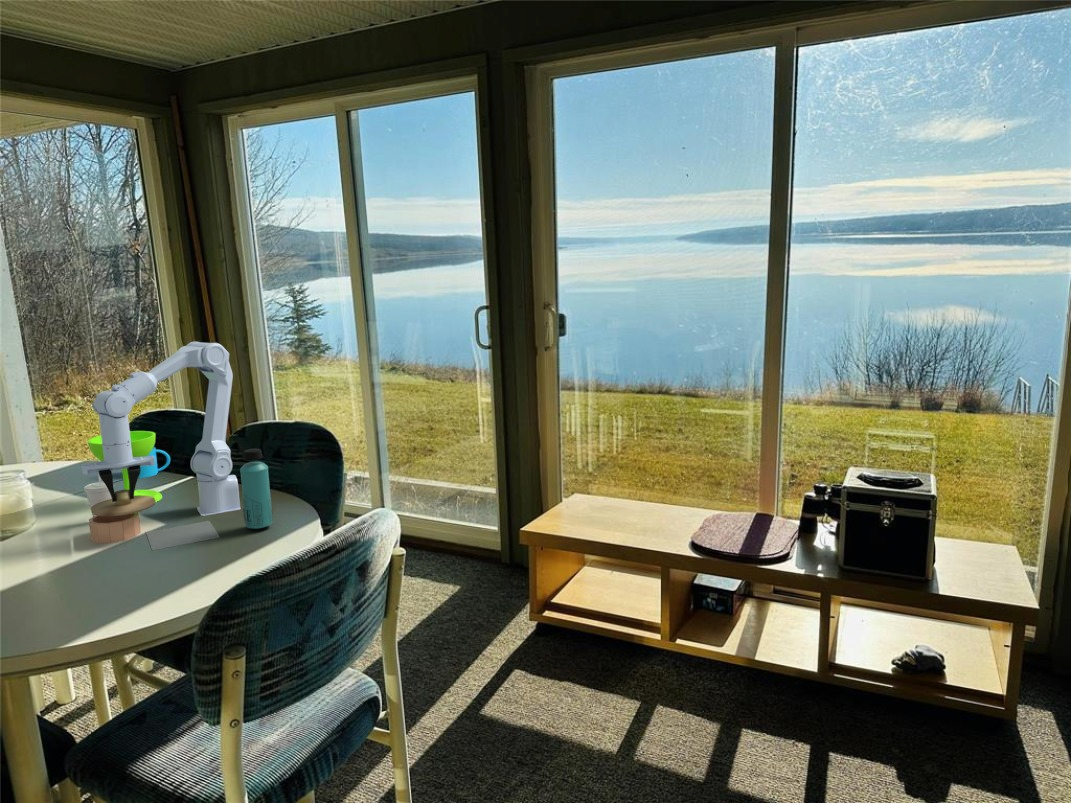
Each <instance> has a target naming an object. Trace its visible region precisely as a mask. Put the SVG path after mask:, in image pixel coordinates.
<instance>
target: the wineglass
mask: <svg viewBox="0 0 1071 803" xmlns="http://www.w3.org/2000/svg"><path fill="white" fill-rule="evenodd" d="M156 434H157V433H156V432H154V431H149V430H148V431H146V430H134V431H131V430H130V439H131V448H132V457H147V456H148V455H149V454H150V452H151V451H152V450H153V447H155V444H156V437H157V436H156ZM87 445H88V448H89V450H90V452H91V453H92V454H93V456H94V457H95V458H96V459H97V460H99V462H102V461H104V455H103V446H102V438H101V435H97V436H94V437H91V438H90V439H88V440H87ZM121 472H122V480H123V487H124V488H123V490H129V479H128V471H127V468H126V469H121ZM137 495H142V496H151V497H153V498H155V502H156V503H157V501H158V502H159V501H161V500H162V499H163V495H162V493H160V492H159V491H157V490H153V489H152V490H151V489H135V491H134V496H137Z"/></svg>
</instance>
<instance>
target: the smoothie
mask: <svg viewBox="0 0 1071 803" xmlns="http://www.w3.org/2000/svg"><path fill="white" fill-rule="evenodd" d="M97 476H98V482H93V483H89V484H86V485H85V486H84V487H83V490H84V491H83V492H84V493H85V494H86V498H87V501H88V504H89V508H90V510H91V507H92V506H94V505H95V504H97V503H99V502H102V501H105V500H109V499H112V497H111V494H110V492H109V490H108V488H107V486H106V485H105V483H104V482H103V480H102V479H101V477H100V475H99V472H97ZM113 487H114V488H115V485H114V483H113ZM91 516H92V517H94V516H95V515H94V514H92V513H91Z"/></svg>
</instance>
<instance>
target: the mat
mask: <svg viewBox="0 0 1071 803" xmlns="http://www.w3.org/2000/svg"><path fill="white" fill-rule="evenodd" d="M145 534H146V537H147V540H148V543H149V545H150V548H151V551H158V550H159V551H160V550H163V549H169V548H172V547H173V548H174V547H178V546H179V547H180V546H183V545H188V544H195V543H199V542H203V541H210V540H214V539H220V538H221V537H220V535H219V533H218V532H217V530H216V528H215V527H214V526H213V524H212V523H211V521H210V520H206V521H205V520H204V521H200V522H195V523H189V524H184V525H178V526H173V527H172V526H171V527H167V528H162V529H156V530H151V531H145Z"/></svg>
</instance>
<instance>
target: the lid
mask: <svg viewBox="0 0 1071 803" xmlns="http://www.w3.org/2000/svg"><path fill="white" fill-rule="evenodd" d="M114 492H115V497H116V502H112V499H109V500H105V501H102V502H99V503H97V504H95V505H94V506H92V507H91V509H90V512H91V515H92V514H94V515H98V516H118V515H126V514H131V513H136V512H138V513H139V512H143V511H145V510H148V509H151V508H153V507H154V506H155V505H156V503H155V498H153V497H151V496H142V495H137V496H134V499H130V490H124V489H120V490H117V491H114Z"/></svg>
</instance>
